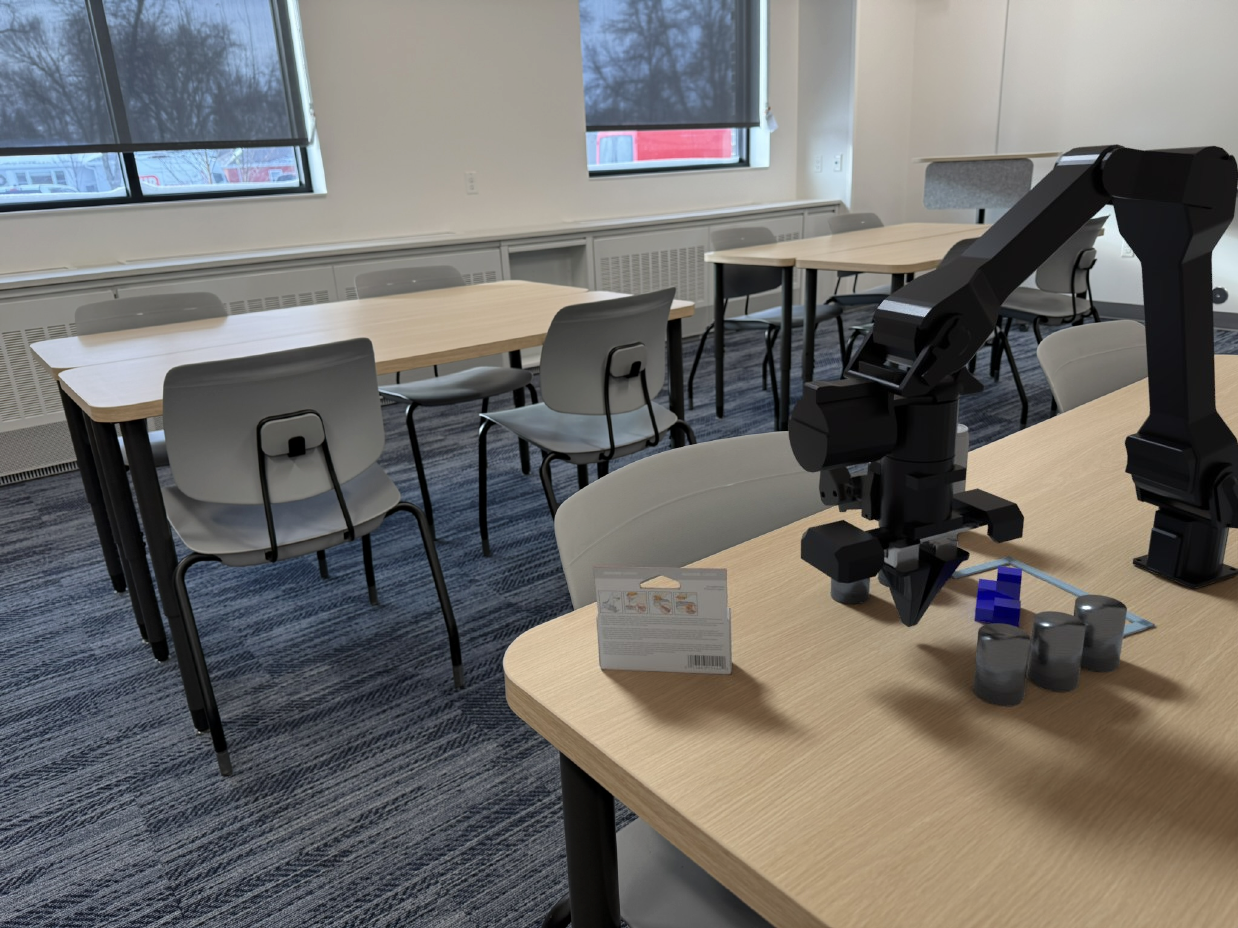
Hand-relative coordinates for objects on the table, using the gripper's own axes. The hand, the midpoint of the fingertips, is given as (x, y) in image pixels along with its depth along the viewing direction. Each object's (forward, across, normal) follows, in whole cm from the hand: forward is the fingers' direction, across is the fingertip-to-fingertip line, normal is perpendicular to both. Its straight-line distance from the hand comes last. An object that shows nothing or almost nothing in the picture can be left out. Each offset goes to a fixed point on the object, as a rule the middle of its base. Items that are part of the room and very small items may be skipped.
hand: (908, 624), depth 74 cm
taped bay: (+2, -16, 0) cm, 16 cm away
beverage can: (+2, -19, -17) cm, 25 cm away
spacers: (+1, -6, 0) cm, 6 cm away
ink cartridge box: (+2, +20, -6) cm, 21 cm away
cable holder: (+2, -8, +1) cm, 9 cm away
